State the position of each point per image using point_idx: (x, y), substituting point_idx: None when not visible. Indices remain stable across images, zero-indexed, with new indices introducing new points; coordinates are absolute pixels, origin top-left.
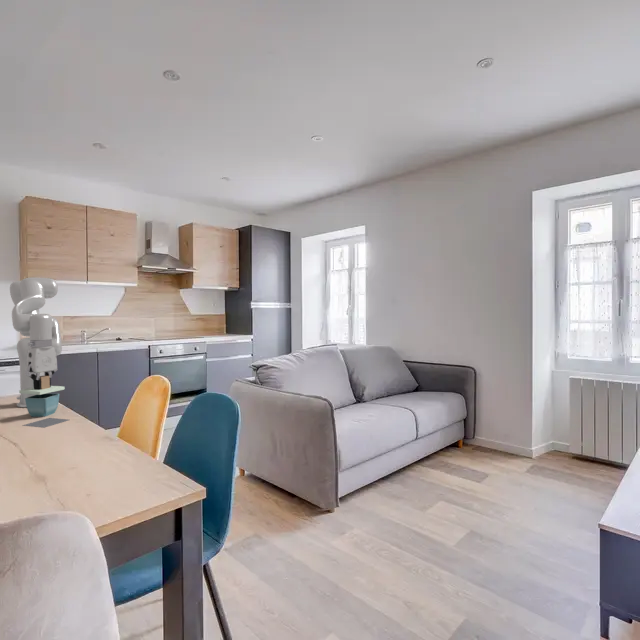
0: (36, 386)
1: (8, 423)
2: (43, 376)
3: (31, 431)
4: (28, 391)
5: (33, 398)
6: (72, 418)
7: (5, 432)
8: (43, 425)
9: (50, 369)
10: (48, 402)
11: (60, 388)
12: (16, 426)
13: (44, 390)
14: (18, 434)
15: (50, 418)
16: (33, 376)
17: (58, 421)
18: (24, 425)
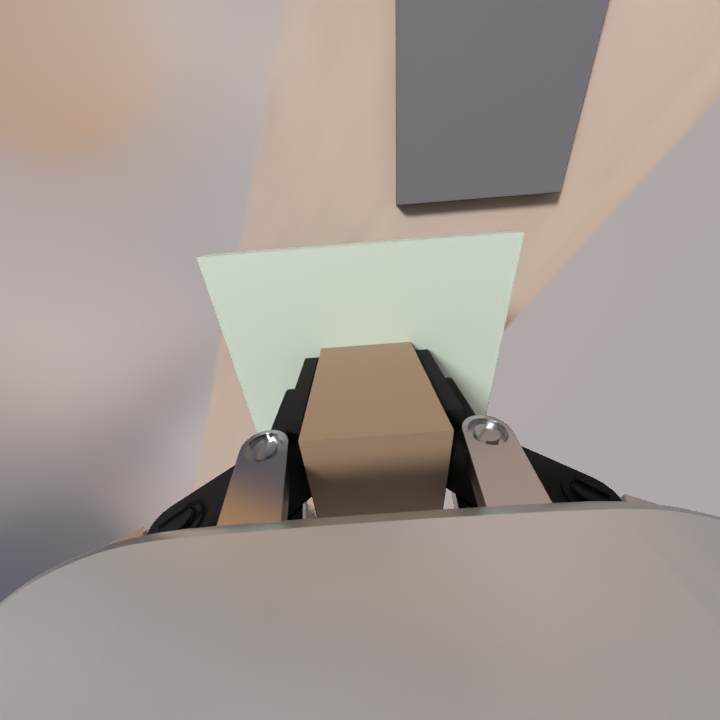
0: (453, 380)
1: None
2: (377, 467)
3: (626, 33)
4: (489, 381)
5: None
6: (317, 80)
7: (627, 195)
8: (568, 12)
9: (263, 555)
10: None
11: (257, 251)
12: (521, 258)
13: (449, 256)
14: (686, 54)
15: (409, 176)
16: (575, 477)
17: (461, 5)
18: (563, 172)
